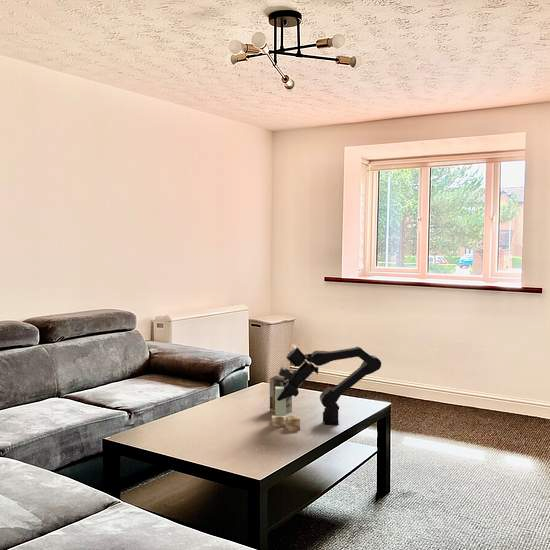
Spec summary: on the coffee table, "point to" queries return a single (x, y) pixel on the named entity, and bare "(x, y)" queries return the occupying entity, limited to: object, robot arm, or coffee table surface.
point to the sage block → (280, 402)
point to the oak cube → (293, 422)
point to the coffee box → (274, 382)
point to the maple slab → (279, 420)
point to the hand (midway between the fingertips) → (277, 398)
